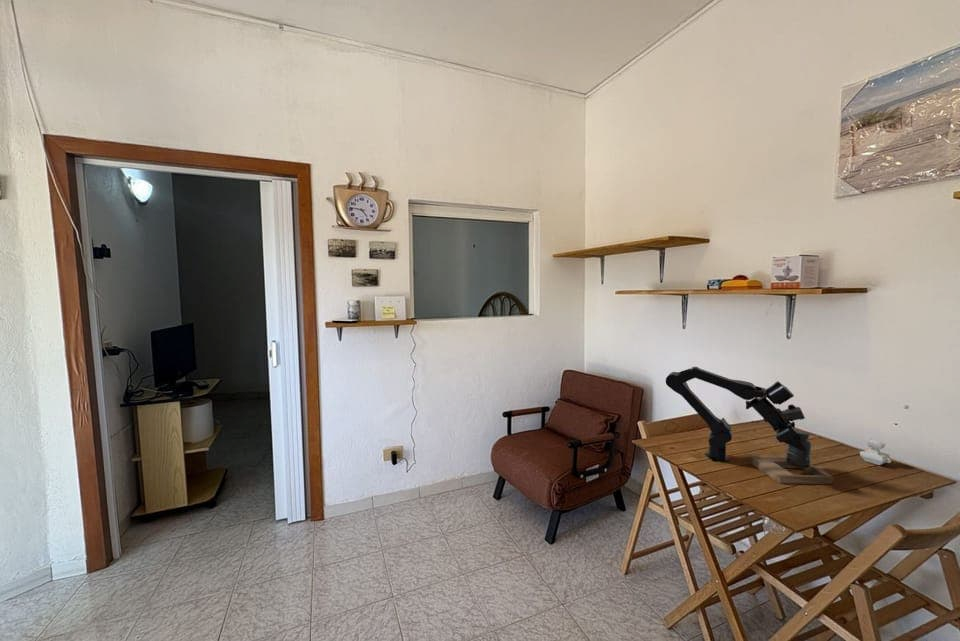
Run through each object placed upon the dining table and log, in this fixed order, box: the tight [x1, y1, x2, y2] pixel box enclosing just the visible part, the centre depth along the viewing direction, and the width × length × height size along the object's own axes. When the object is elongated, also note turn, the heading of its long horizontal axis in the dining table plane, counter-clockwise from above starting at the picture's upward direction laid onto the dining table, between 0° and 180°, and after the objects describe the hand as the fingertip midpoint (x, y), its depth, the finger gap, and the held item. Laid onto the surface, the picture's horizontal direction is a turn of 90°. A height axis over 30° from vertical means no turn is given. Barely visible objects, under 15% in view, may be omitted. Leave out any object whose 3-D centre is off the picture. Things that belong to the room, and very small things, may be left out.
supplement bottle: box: [785, 429, 813, 469], centre depth 142 cm, size 7×7×12 cm
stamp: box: [859, 439, 892, 466], centre depth 152 cm, size 9×7×8 cm
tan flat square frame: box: [747, 454, 835, 485], centre depth 145 cm, size 17×18×2 cm
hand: (804, 447), depth 142 cm, fingers closed on supplement bottle, 7 cm apart
